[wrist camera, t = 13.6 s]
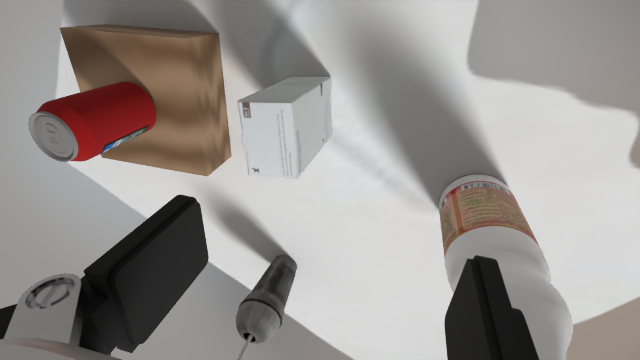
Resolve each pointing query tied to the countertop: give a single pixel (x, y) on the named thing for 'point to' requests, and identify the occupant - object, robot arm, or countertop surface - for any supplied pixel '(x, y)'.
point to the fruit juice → (504, 256)
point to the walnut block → (160, 90)
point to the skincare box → (286, 126)
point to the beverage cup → (266, 303)
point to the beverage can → (92, 121)
